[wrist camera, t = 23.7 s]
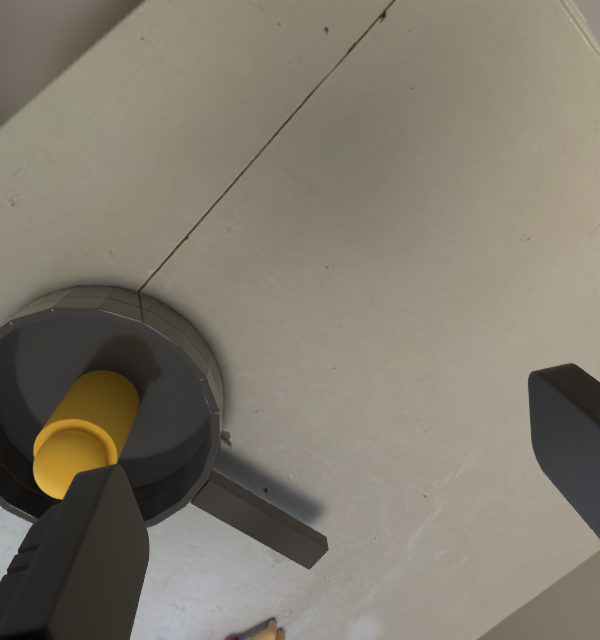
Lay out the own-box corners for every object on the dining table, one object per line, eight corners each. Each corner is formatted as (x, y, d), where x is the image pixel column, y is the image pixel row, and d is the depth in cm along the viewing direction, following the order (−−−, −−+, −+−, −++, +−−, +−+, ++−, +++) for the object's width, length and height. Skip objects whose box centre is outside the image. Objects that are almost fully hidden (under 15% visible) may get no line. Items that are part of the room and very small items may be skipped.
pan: (-58, 419, 40) (-99, 458, 35) (64, 235, 36) (36, 251, 31) (142, 525, 44) (129, 573, 40) (268, 373, 41) (271, 405, 36)
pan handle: (192, 490, 40) (190, 503, 38) (211, 468, 39) (209, 480, 38) (307, 556, 43) (309, 570, 41) (326, 536, 42) (329, 549, 41)
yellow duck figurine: (56, 407, 39) (-5, 494, 30) (93, 357, 38) (41, 431, 29) (124, 446, 41) (85, 540, 32) (161, 398, 40) (132, 482, 31)
